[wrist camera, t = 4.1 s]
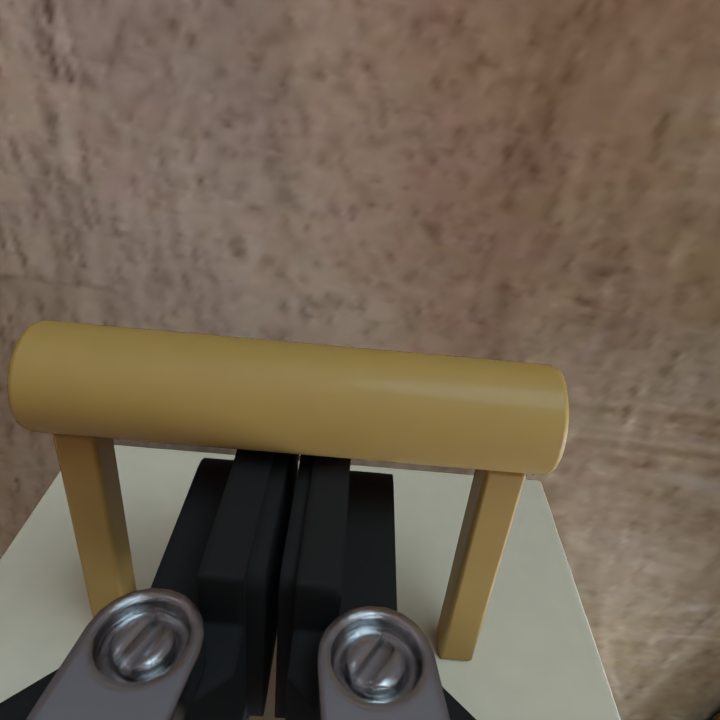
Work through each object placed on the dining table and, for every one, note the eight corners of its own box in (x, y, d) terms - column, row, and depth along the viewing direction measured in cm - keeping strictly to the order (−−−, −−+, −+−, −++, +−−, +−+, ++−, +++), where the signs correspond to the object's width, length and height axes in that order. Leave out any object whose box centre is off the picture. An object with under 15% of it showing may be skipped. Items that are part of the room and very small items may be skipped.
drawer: (33, 203, 12) (-329, 415, 6) (611, 257, 12) (846, 514, 6) (136, 737, 22) (43, 1020, 16) (452, 760, 22) (480, 1048, 16)
